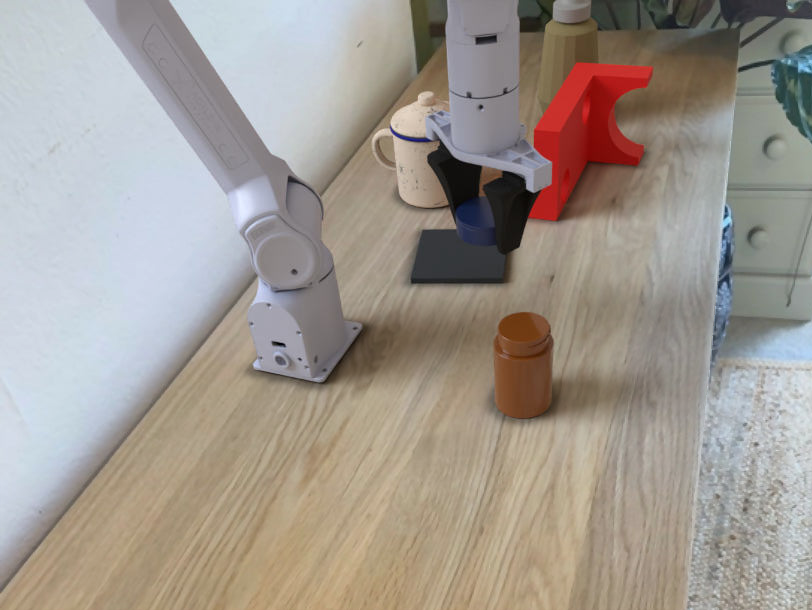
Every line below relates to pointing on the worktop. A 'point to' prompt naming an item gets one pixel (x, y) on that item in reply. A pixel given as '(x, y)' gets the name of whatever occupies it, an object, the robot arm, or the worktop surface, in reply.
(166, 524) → the worktop surface
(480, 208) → the jar lid
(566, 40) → the squeeze bottle
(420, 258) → the coaster
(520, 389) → the jar
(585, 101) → the bracket
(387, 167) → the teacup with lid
